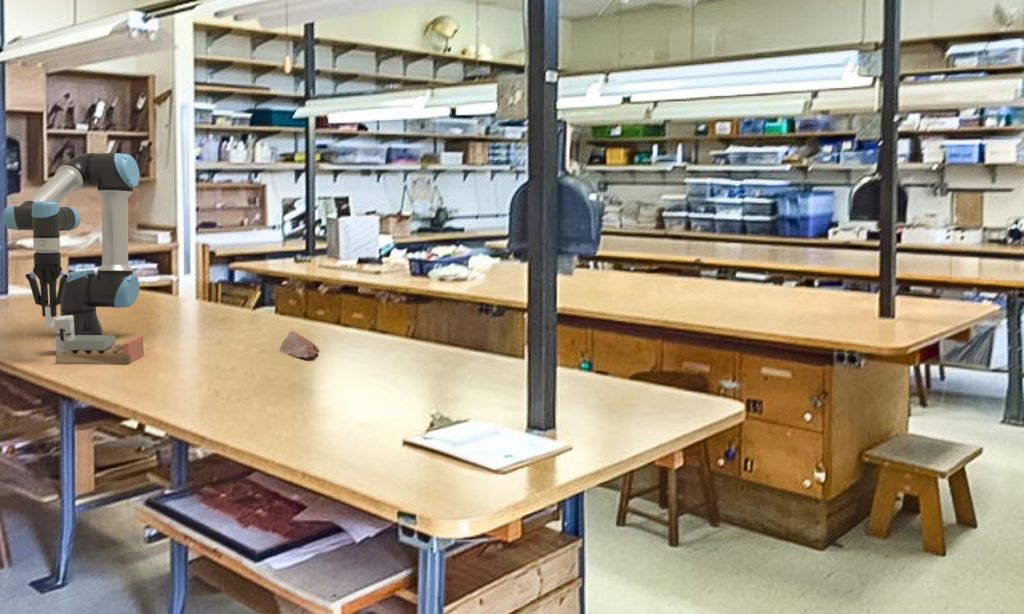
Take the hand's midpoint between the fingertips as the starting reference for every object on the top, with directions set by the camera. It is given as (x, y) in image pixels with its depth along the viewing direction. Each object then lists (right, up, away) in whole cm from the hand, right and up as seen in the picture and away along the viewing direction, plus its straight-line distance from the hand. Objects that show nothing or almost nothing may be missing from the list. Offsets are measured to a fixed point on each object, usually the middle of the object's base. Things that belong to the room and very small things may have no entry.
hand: (50, 327), depth 310 cm
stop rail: (+25, -10, +3) cm, 27 cm away
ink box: (-1, -9, +13) cm, 15 cm away
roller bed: (+15, -10, +3) cm, 18 cm away
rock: (+76, -10, +18) cm, 79 cm away
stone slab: (+12, -6, +2) cm, 14 cm away
